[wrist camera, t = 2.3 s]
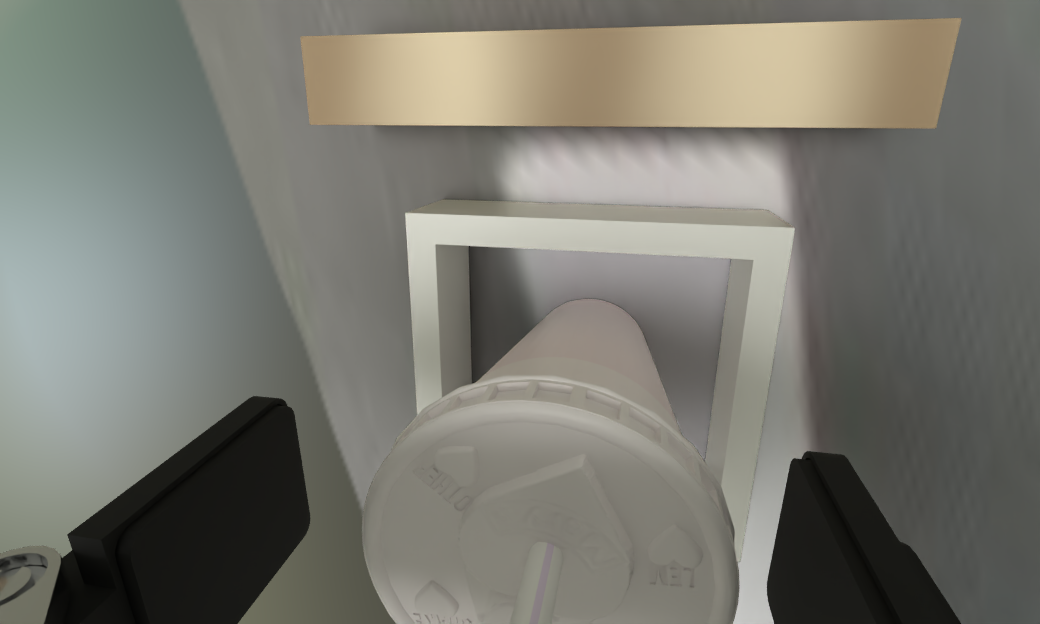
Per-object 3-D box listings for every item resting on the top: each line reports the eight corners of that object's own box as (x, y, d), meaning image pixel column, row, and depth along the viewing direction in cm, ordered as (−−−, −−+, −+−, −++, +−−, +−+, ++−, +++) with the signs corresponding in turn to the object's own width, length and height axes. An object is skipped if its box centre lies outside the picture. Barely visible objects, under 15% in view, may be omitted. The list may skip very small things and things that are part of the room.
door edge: (886, 43, 14) (961, 18, 11) (870, 128, 14) (935, 128, 11) (367, 54, 17) (300, 36, 13) (372, 125, 17) (309, 124, 14)
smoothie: (725, 297, 17) (1030, 913, 4) (647, 466, 19) (659, 1214, 6) (525, 228, 17) (163, 541, 4) (472, 400, 19) (134, 946, 6)
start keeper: (767, 210, 16) (795, 228, 13) (725, 497, 19) (740, 562, 16) (443, 199, 17) (405, 212, 15) (452, 462, 20) (423, 514, 18)
